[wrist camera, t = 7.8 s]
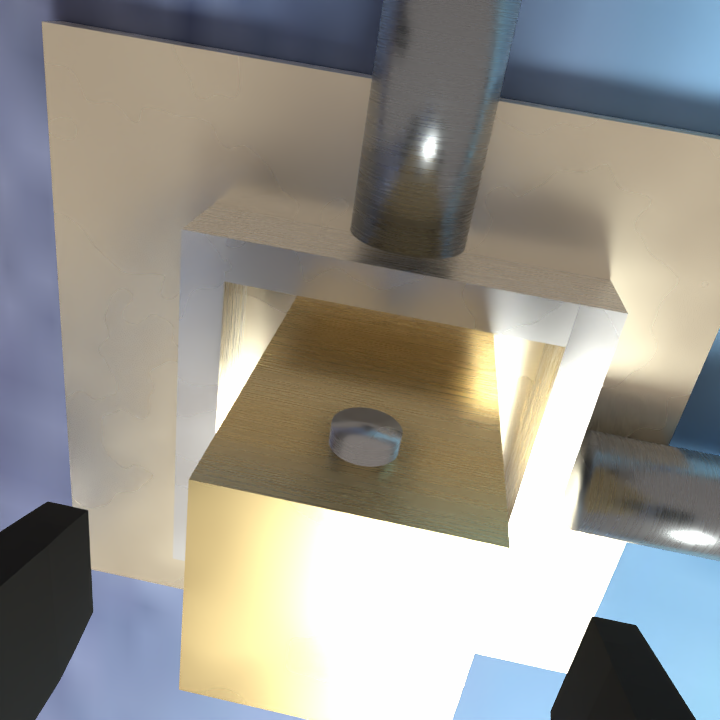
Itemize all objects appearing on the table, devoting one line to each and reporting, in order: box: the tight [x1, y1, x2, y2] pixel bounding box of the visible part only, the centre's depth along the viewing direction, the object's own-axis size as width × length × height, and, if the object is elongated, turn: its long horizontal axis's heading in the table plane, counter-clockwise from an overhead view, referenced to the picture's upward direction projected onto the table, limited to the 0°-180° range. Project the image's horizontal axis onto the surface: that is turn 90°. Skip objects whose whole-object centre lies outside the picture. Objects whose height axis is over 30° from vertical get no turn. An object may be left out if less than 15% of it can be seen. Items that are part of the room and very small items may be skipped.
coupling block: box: [179, 299, 510, 720], centre depth 12 cm, size 4×5×6 cm
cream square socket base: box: [42, 0, 720, 673], centre depth 14 cm, size 16×15×3 cm
